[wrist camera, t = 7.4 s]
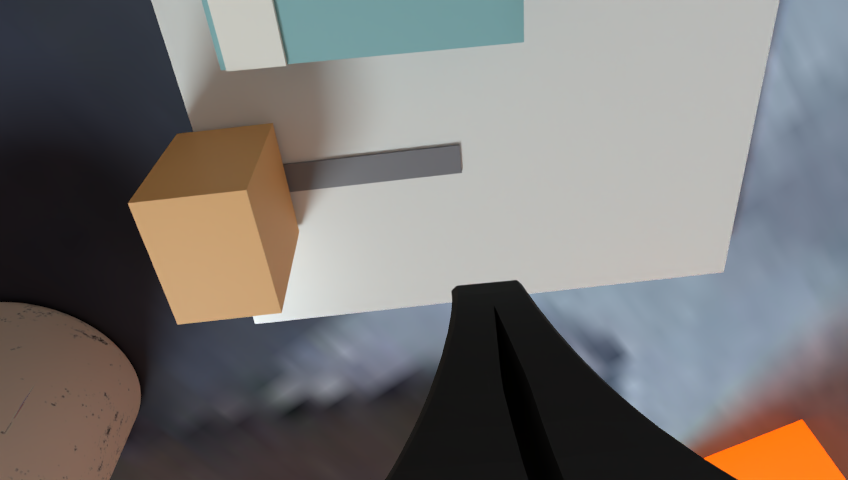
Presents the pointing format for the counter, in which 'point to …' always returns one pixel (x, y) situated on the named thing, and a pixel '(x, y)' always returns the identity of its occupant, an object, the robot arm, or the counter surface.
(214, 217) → the block
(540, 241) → the panel
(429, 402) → the robot arm
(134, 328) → the counter surface
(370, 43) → the teal flat block
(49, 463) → the teacup with lid
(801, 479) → the orange juice
